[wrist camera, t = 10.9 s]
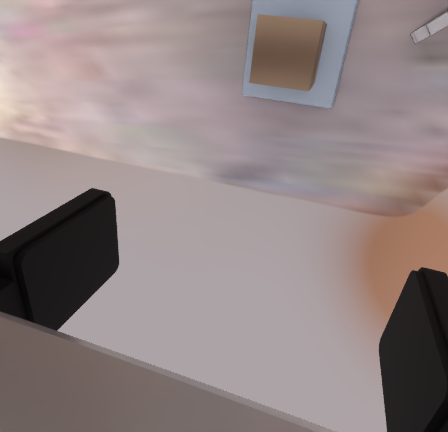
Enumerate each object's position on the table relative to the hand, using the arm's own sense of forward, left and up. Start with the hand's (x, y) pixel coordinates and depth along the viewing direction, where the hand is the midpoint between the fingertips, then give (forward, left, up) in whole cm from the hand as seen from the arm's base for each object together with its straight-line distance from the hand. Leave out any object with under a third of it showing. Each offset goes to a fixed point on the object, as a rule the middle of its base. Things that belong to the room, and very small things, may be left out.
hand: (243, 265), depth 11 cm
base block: (-5, -3, -30) cm, 31 cm away
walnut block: (-5, -3, -27) cm, 28 cm away
